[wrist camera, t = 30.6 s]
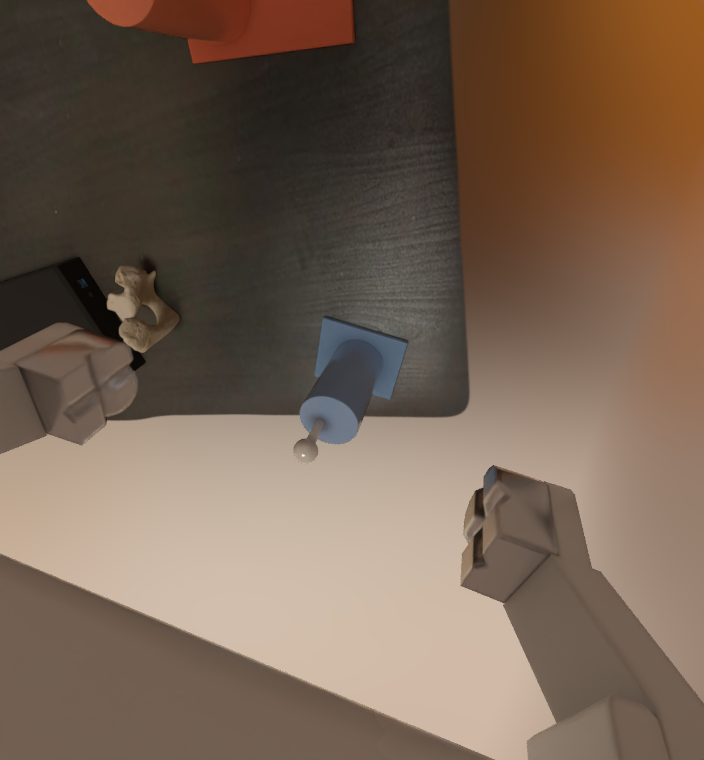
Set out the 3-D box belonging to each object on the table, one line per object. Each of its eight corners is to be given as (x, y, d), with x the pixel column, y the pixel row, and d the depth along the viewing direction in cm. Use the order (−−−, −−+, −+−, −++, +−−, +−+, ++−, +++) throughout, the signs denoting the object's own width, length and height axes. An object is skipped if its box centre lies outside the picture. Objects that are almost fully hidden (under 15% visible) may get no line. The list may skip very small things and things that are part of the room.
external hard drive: (-32, 292, 54) (-56, 301, 52) (79, 257, 45) (57, 265, 43) (38, 378, 61) (20, 389, 59) (146, 362, 52) (130, 374, 50)
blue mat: (408, 341, 40) (407, 343, 39) (390, 397, 44) (389, 400, 44) (324, 315, 41) (323, 317, 40) (315, 373, 45) (314, 375, 45)
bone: (92, 261, 43) (64, 295, 35) (152, 247, 44) (138, 277, 36) (131, 329, 48) (114, 373, 40) (184, 315, 49) (178, 355, 41)
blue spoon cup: (372, 334, 40) (326, 428, 28) (389, 378, 42) (353, 481, 31) (326, 345, 42) (266, 436, 31) (345, 386, 45) (295, 485, 33)
